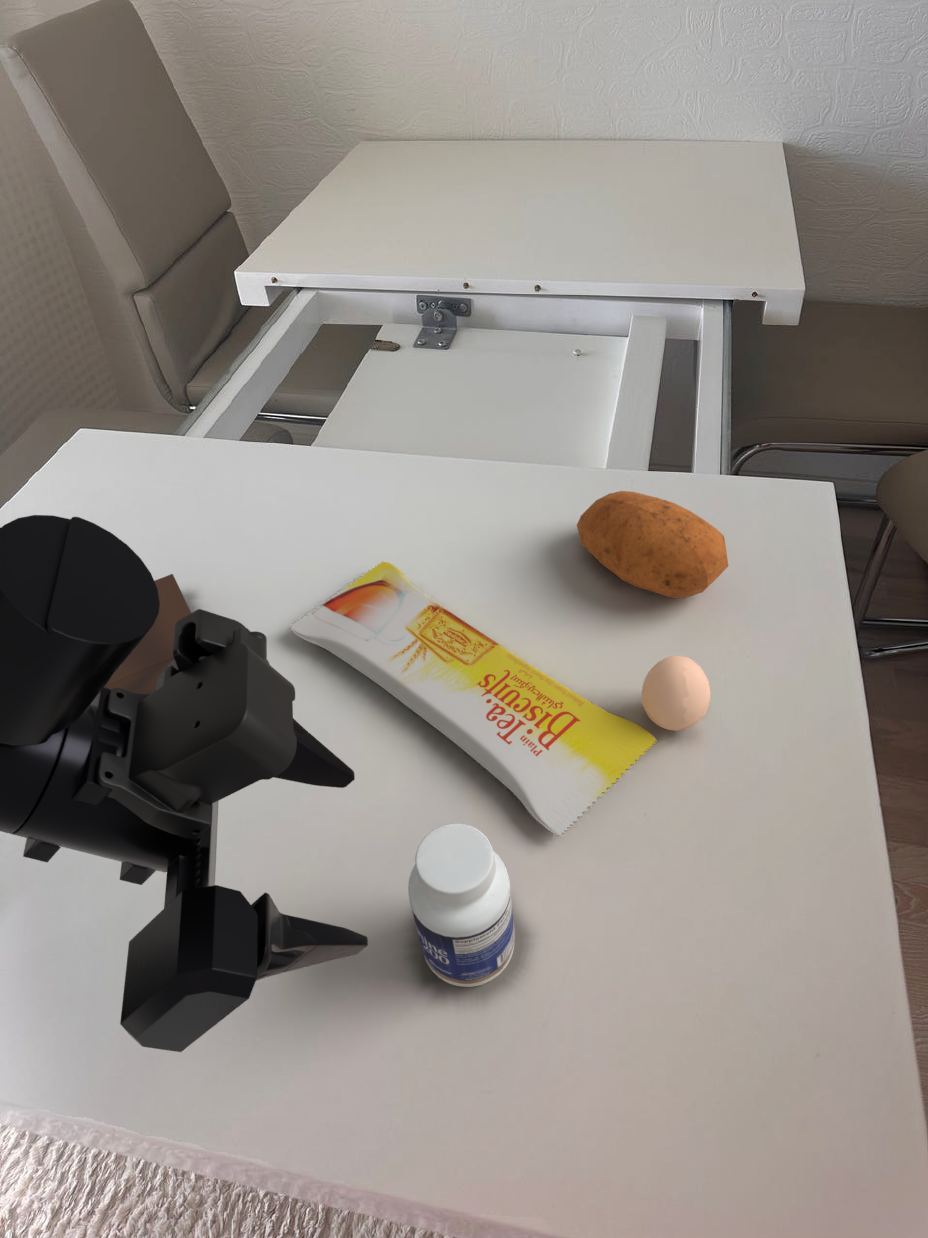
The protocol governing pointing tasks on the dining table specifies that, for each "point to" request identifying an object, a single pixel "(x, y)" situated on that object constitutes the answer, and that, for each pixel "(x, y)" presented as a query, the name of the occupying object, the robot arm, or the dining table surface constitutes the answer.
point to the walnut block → (153, 643)
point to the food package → (479, 695)
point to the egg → (676, 693)
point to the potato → (653, 543)
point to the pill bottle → (462, 905)
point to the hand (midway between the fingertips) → (356, 857)
